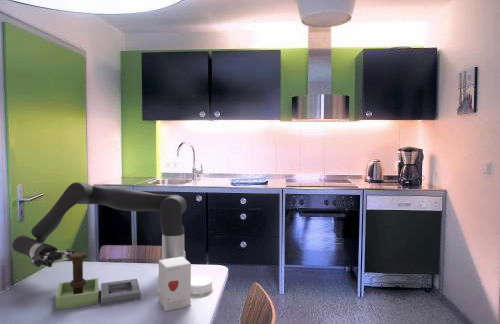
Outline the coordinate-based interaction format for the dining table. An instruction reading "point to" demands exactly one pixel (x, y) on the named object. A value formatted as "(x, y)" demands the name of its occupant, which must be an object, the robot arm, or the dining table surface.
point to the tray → (77, 295)
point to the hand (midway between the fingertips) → (63, 261)
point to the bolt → (77, 272)
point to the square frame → (122, 296)
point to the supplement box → (174, 283)
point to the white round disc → (200, 285)
